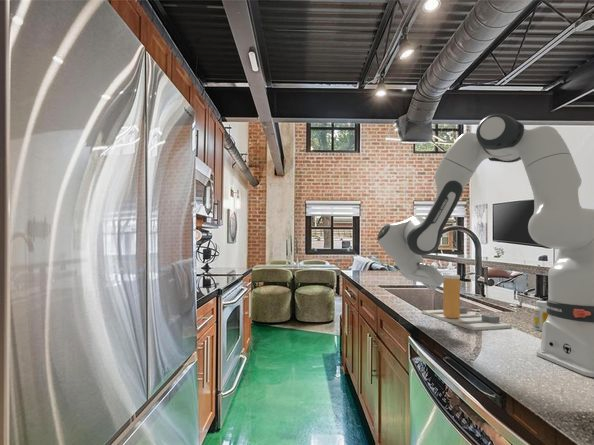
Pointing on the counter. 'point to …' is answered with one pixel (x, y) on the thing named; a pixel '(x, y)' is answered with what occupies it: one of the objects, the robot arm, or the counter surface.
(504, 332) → the counter surface
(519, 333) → the counter surface
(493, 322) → the panel
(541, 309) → the supplement bottle
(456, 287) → the glass of beer
